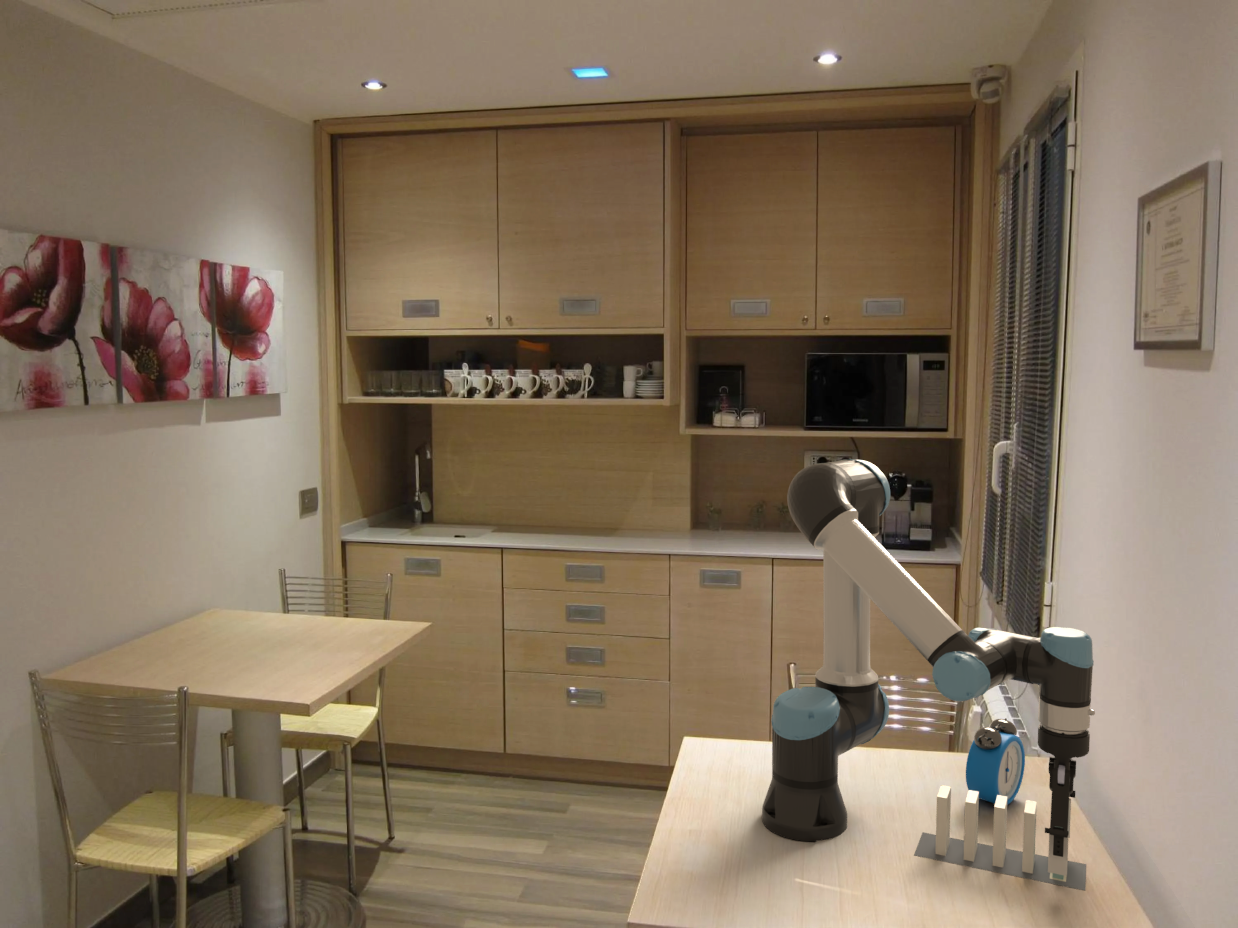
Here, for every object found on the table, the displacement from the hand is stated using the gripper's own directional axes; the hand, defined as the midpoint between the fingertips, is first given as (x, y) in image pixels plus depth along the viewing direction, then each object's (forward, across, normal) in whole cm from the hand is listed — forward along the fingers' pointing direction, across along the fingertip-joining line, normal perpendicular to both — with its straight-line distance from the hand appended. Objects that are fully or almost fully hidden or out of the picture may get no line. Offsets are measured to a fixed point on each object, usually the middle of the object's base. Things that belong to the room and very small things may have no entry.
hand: (1059, 853), depth 158 cm
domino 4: (+3, 0, +4) cm, 5 cm away
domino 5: (+3, 0, 0) cm, 3 cm away
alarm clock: (+3, +24, +12) cm, 27 cm away
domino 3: (+3, 0, +9) cm, 9 cm away
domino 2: (+3, 0, +14) cm, 14 cm away
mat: (+3, 0, +9) cm, 10 cm away
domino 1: (+3, 0, +18) cm, 18 cm away
